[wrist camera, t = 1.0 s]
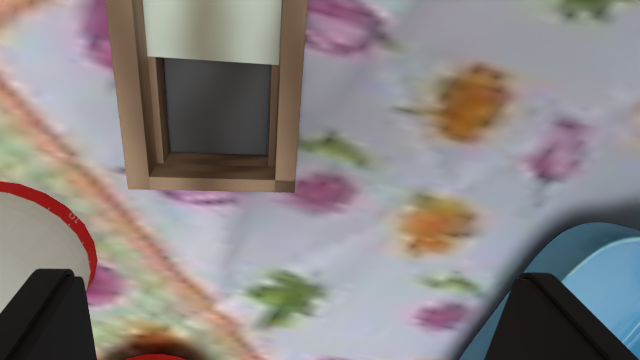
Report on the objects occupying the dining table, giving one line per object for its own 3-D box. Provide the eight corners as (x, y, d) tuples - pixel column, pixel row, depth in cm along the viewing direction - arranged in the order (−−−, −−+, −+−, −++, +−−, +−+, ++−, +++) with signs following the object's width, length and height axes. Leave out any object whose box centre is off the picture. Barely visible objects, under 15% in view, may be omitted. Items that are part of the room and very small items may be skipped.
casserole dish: (534, 434, 59) (567, 489, 52) (398, 413, 53) (417, 472, 47) (719, 224, 46) (793, 263, 39) (566, 165, 40) (624, 200, 33)
